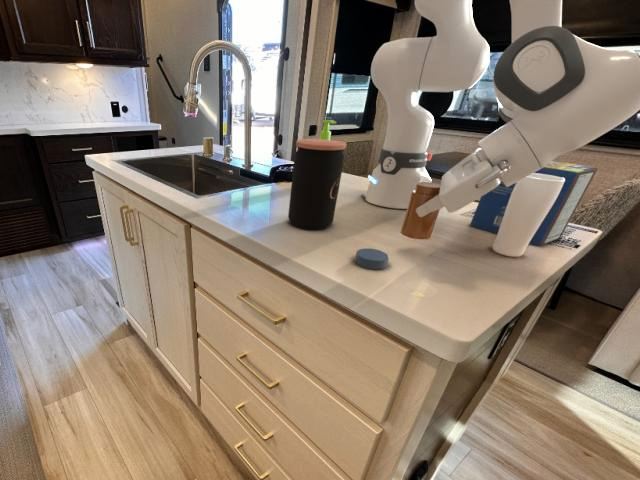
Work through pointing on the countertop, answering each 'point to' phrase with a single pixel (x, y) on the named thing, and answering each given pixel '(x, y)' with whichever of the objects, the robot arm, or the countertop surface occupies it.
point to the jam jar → (412, 221)
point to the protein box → (559, 214)
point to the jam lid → (371, 258)
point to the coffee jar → (315, 183)
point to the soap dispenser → (326, 130)
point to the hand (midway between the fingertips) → (419, 208)
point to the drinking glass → (526, 212)
